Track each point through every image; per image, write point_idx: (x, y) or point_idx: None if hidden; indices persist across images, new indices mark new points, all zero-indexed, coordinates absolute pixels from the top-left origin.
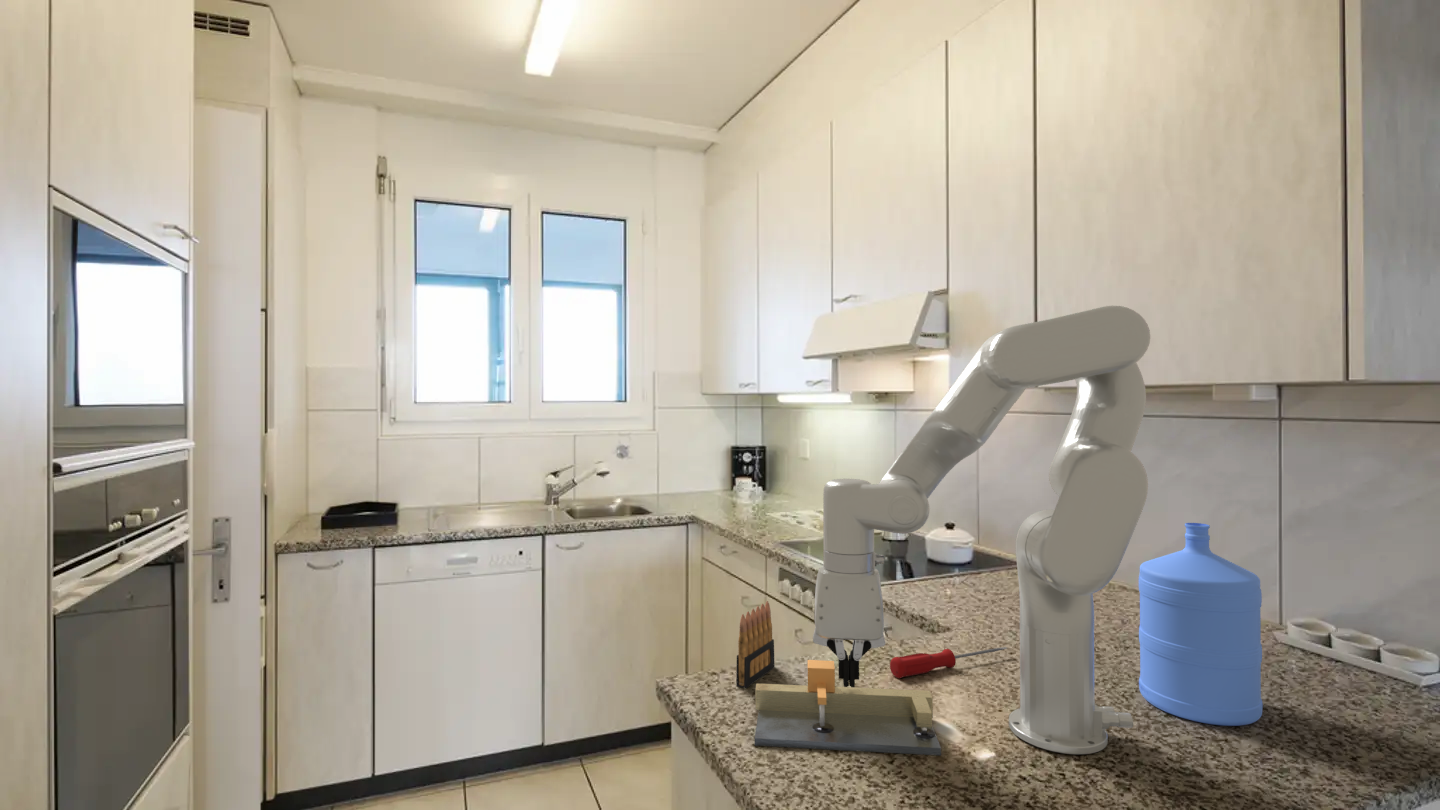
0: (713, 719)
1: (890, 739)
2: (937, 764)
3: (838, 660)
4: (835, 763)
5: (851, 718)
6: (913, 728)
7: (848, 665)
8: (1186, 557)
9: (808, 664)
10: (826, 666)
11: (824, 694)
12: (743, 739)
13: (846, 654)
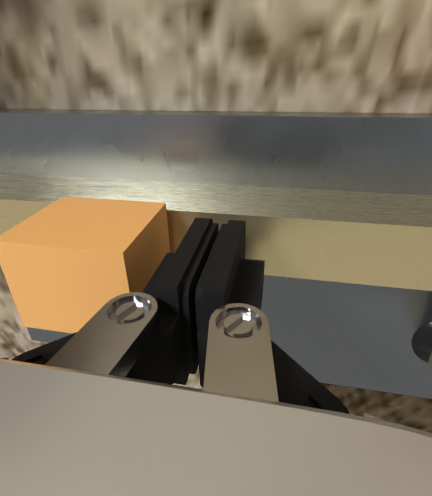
0: None
1: (331, 363)
2: (418, 410)
3: (144, 288)
4: (200, 388)
5: None
6: (424, 319)
7: (197, 361)
8: None
9: (15, 294)
10: None
11: None
12: (12, 307)
13: (172, 380)
